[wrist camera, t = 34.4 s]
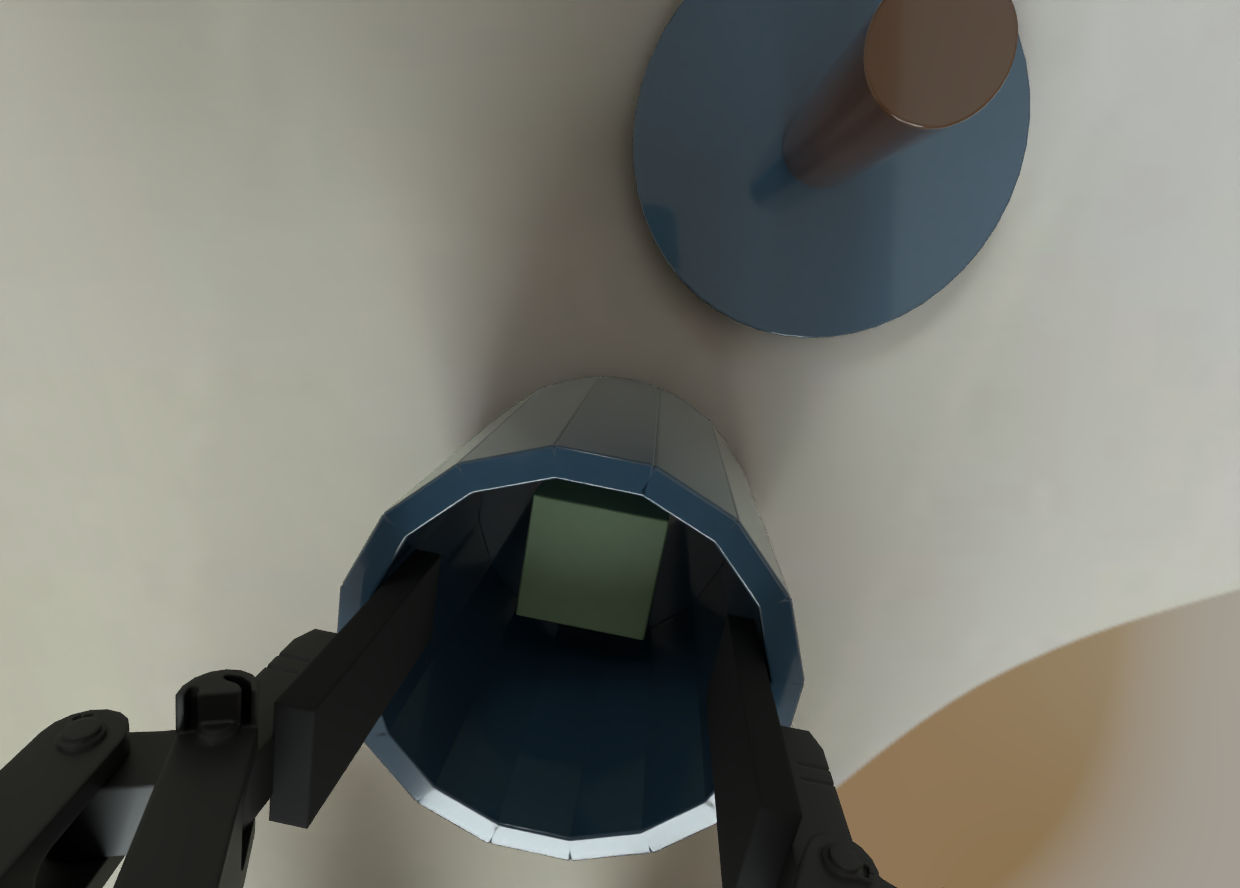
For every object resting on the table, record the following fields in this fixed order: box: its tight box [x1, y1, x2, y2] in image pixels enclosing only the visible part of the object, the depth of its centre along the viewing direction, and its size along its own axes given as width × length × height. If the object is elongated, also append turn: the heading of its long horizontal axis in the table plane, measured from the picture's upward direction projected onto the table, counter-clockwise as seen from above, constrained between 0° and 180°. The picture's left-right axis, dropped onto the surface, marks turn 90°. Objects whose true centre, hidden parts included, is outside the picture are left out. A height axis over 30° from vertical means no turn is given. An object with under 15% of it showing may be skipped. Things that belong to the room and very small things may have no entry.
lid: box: [633, 0, 1030, 338], centre depth 17 cm, size 13×13×10 cm
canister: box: [337, 376, 804, 861], centre depth 21 cm, size 12×12×10 cm
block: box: [516, 479, 669, 640], centre depth 23 cm, size 4×4×4 cm
